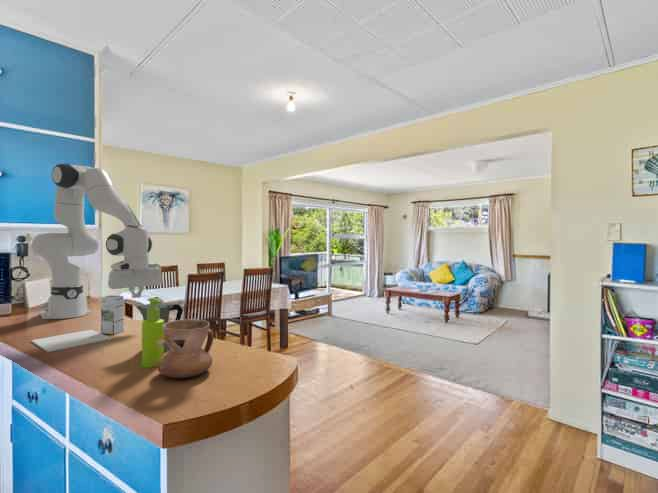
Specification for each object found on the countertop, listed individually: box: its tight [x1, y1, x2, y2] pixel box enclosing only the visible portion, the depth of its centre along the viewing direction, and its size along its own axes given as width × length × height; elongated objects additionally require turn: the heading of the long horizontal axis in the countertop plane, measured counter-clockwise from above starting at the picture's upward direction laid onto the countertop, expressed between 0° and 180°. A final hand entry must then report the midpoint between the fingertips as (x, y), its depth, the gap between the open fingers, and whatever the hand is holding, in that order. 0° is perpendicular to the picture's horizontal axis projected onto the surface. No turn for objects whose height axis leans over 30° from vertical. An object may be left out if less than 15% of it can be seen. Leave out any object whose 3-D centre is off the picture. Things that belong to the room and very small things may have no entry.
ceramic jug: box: [156, 318, 215, 379], centre depth 99 cm, size 18×14×14 cm
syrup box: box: [100, 294, 125, 336], centre depth 138 cm, size 6×6×14 cm
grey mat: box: [30, 329, 112, 353], centre depth 127 cm, size 18×19×1 cm
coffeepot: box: [135, 296, 184, 353], centre depth 118 cm, size 15×9×18 cm, turn 92°
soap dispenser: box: [141, 297, 165, 369], centre depth 105 cm, size 6×7×20 cm
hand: (136, 297), depth 145 cm, fingers closed
